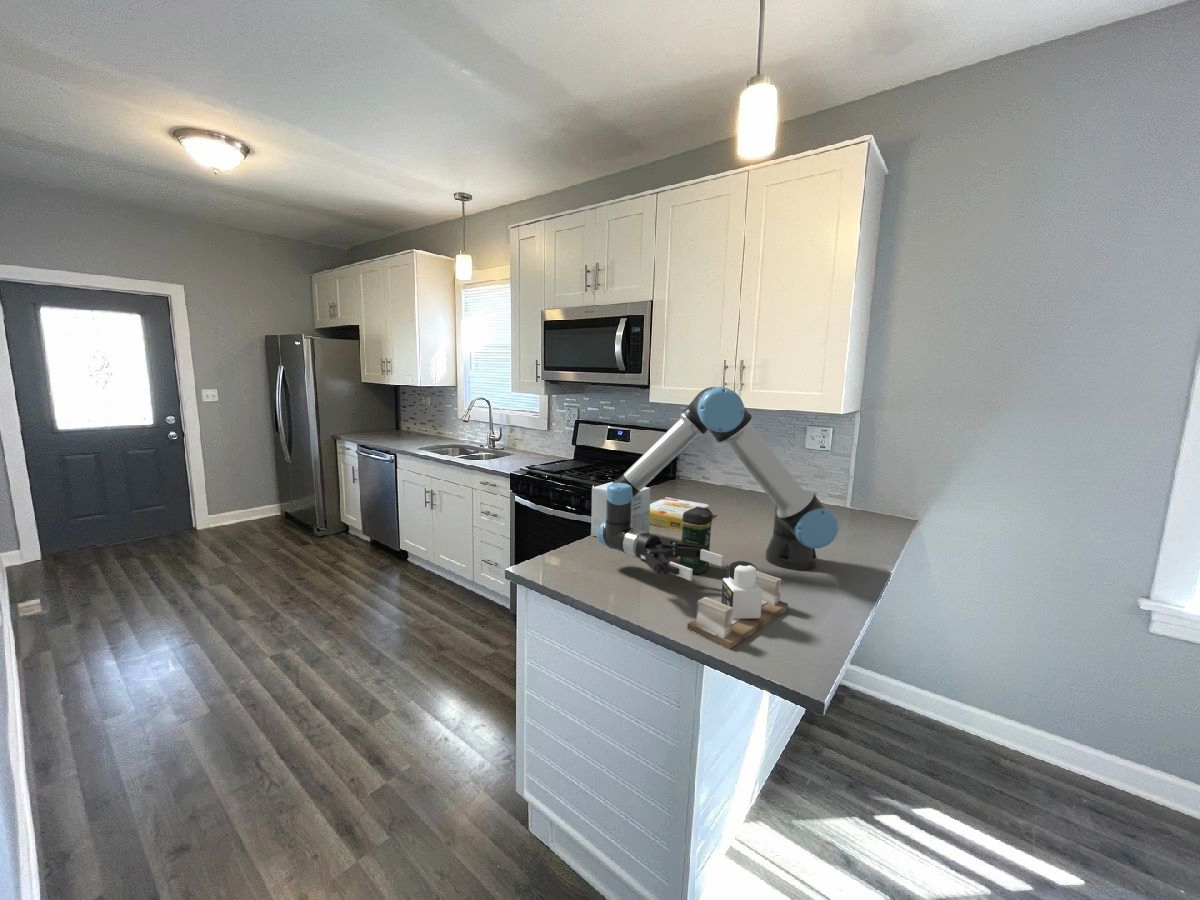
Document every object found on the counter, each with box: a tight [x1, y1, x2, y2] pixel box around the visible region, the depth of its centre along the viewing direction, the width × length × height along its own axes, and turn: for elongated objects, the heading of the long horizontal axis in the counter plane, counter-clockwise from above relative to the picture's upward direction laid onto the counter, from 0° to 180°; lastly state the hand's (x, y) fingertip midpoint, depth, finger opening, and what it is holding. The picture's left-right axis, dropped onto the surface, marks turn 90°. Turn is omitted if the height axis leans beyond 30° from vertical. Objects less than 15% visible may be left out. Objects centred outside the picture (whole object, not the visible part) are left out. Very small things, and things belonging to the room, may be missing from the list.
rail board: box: [686, 570, 789, 650], centre depth 114 cm, size 27×11×8 cm, turn 134°
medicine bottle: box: [720, 560, 762, 619], centre depth 114 cm, size 7×7×12 cm
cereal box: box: [649, 496, 710, 531], centre depth 197 cm, size 20×6×28 cm
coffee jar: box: [679, 507, 713, 574], centre depth 144 cm, size 10×8×19 cm
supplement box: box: [590, 481, 651, 538], centre depth 172 cm, size 17×13×18 cm
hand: (707, 567), depth 120 cm, fingers open, 13 cm apart
